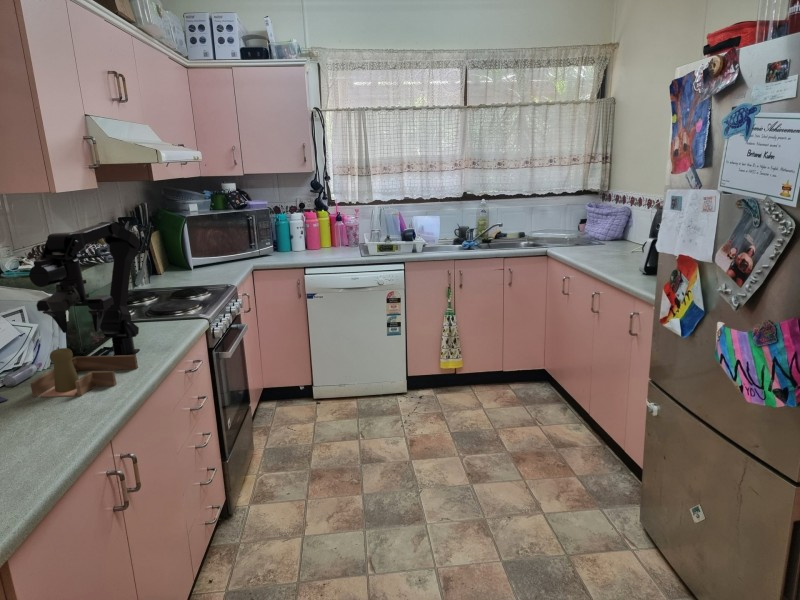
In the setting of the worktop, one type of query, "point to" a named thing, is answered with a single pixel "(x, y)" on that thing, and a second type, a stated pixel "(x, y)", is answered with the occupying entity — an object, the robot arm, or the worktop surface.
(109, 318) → the robot arm
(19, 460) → the worktop surface
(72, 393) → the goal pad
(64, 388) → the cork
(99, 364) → the bent channel
